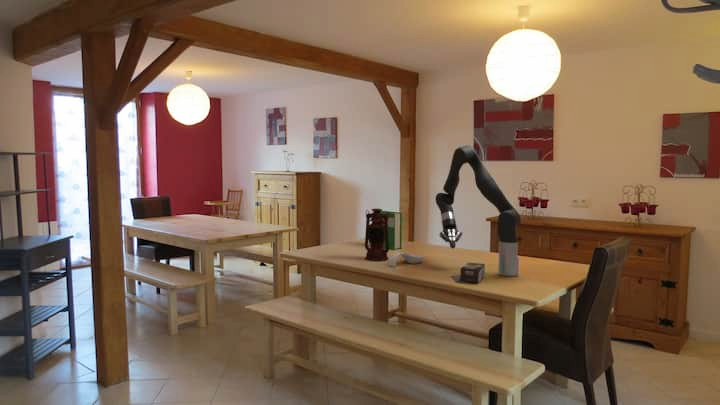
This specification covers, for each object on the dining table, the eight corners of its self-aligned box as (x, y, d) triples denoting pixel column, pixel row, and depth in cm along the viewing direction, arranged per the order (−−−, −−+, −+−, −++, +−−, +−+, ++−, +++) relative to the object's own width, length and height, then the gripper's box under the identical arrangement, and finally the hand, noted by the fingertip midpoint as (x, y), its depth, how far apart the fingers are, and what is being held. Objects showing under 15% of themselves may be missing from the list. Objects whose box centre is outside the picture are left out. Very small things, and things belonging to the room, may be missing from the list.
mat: (474, 276, 254) (474, 275, 254) (480, 281, 242) (480, 281, 242) (451, 276, 254) (451, 275, 254) (456, 282, 242) (456, 281, 242)
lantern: (358, 259, 296) (358, 209, 293) (371, 255, 307) (371, 207, 304) (382, 262, 286) (382, 210, 283) (395, 258, 297) (395, 208, 294)
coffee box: (485, 263, 253) (479, 269, 238) (484, 275, 253) (478, 283, 238) (467, 261, 256) (460, 267, 241) (466, 273, 257) (459, 280, 242)
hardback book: (401, 248, 330) (401, 212, 327) (394, 250, 325) (394, 213, 322) (382, 245, 342) (382, 210, 340) (374, 246, 337) (374, 211, 335)
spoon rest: (412, 259, 296) (412, 247, 295) (427, 262, 288) (428, 250, 287) (384, 265, 280) (384, 252, 280) (400, 268, 272) (400, 255, 271)
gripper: (437, 217, 275) (442, 243, 263) (461, 217, 275) (466, 243, 264) (435, 226, 280) (439, 251, 269) (459, 225, 281) (464, 251, 270)
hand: (453, 247), depth 267 cm, fingers closed
